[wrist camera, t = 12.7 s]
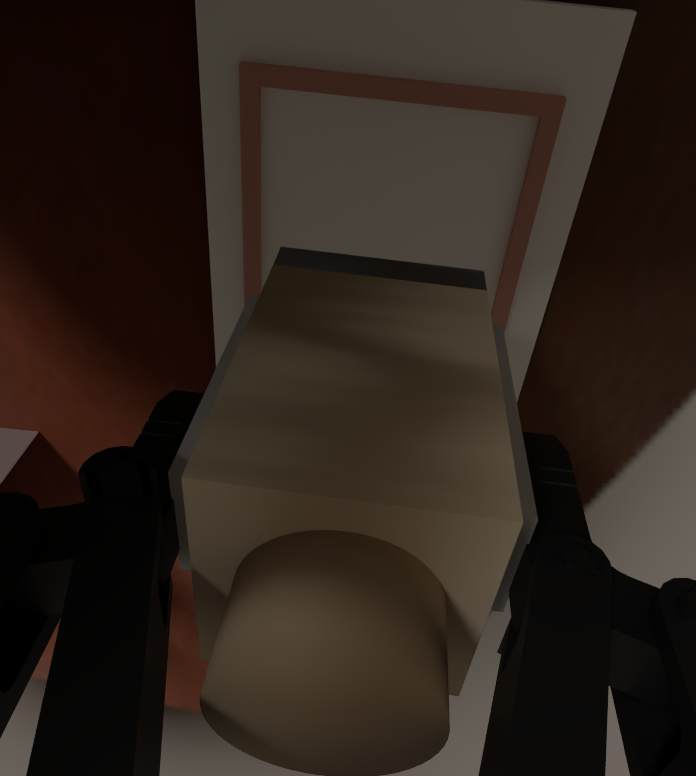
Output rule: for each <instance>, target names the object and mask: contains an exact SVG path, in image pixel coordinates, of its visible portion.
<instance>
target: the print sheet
mask: <svg viewBox="0 0 696 776" xmlns="http://www.w3.org/2000/svg"><path fill="white" fill-rule="evenodd" d="M195 9H196V27H197V44H198V61H199V79H200V96H201V114H202V131H203V148H204V166H205V183H206V201H207V218H208V235H209V253H210V270H211V288H212V305H213V322H214V340H215V357H216V367H217V365H218V363H219V361H220V359H221V356H222V354H223V352H224V350H225V348H226V346H227V343H228V341H229V339H230V337H231V335H232V333H233V330H234V328H235V326H236V324H237V322H238V320H239V317H240V315H241V313H242V311H243V309H244V307H245V304H246V302H247V300H248V298H249V296H250V295H253V296H260V294H261V292H262V289H263V287H264V285H265V282H266V280H267V278H268V275H269V273H270V271H271V268H272V266H273V264H274V261H275V259H276V257H277V254H278V252H279V250H280V247H289V248H297V249H306V250H314V251H322V252H331V253H339V254H348V255H356V256H364V257H373V258H381V259H389V260H398V261H406V262H414V263H423V264H431V265H440V266H448V267H456V268H465V269H473V270H481V271H484V274H485V281H486V287H487V293H488V300H489V306H490V313H491V319H492V324H497V325H503V330H504V336H505V341H506V347H507V352H508V358H509V363H510V369H511V374H512V380H513V385H514V391H515V396H516V402H517V401H518V398H519V394H520V391H521V388H522V385H523V381H524V378H525V375H526V372H527V368H528V365H529V362H530V359H531V355H532V352H533V349H534V346H535V342H536V339H537V336H538V333H539V329H540V326H541V323H542V320H543V316H544V313H545V310H546V306H547V303H548V300H549V297H550V293H551V290H552V287H553V284H554V280H555V277H556V274H557V271H558V267H559V264H560V261H561V258H562V254H563V251H564V248H565V245H566V241H567V238H568V235H569V232H570V228H571V225H572V222H573V218H574V215H575V212H576V209H577V205H578V202H579V199H580V196H581V192H582V189H583V186H584V183H585V179H586V176H587V173H588V170H589V166H590V163H591V160H592V157H593V153H594V150H595V147H596V144H597V140H598V137H599V134H600V130H601V127H602V124H603V121H604V117H605V114H606V111H607V108H608V104H609V101H610V98H611V95H612V91H613V88H614V85H615V82H616V78H617V75H618V72H619V69H620V65H621V62H622V59H623V55H624V52H625V49H626V46H627V42H628V39H629V36H630V33H631V29H632V26H633V23H634V20H635V16H636V13H637V12H636V11H634V10H632V9H623V8H613V7H603V6H594V5H584V4H574V3H564V2H555V1H545V0H195Z"/></svg>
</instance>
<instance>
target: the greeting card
mask: <svg viewBox="0 0 696 776" xmlns="http://www.w3.org/2000/svg"><path fill="white" fill-rule="evenodd" d="M38 433H39V432H37V431H27V430H17V429H7V428H0V484H1V483H2V482H3V480H4V479H5V478H6V476H7V475H8V473H9V472H10V471H11V469H12V468H13V467H14V465H15V464H16V463H17V461H18V460H19V459H20V457H21V456H22V454H23V453H24V452H25V450H26V449H27V448H28V446H29V445H30V444H31V442H32V441H33V439H34V438H35V437H36V435H37V434H38Z"/></svg>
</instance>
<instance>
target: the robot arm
mask: <svg viewBox="0 0 696 776" xmlns="http://www.w3.org/2000/svg"><path fill="white" fill-rule="evenodd" d="M258 298H259V296H253V295H250V296H249V298H248V300H247V302H246V304H245V307H244V309H243V311H242V313H241V315H240V317H239V320H238V322H237V324H236V326H235V328H234V330H233V333H232V335H231V337H230V339H229V341H228V343H227V346H226V348H225V350H224V352H223V354H222V356H221V359H220V361H219V363H218V365H217V367H216V369H215V372H214V374H213V376H212V378H211V380H210V383H209V385H208V387H207V389H206V391H205V393H204V394H203V393H195V392H187V391H179V390H173V391H172V392H170V393H169V394H168V395H166V396H165V397H164V398H163V399H161V400H160V401H159V402H157V404H156V406H155V408H154V409H153V411H152V413H151V415H150V417H149V420H148V421H147V422H146V424H145V426H144V428H143V429H142V433H141V434H140V435H139V437H138V439H137V440H136V442H135V444H134V446H133V447H127V446H119V447H113V448H107V449H105V450H103V451H100V452H98V453H96V454H94V455H92V456H91V457H90V458H89V459H88V460H86V461H85V462H84V463H83V465H82V467H81V468H80V470H79V472H78V476H79V480H80V484H81V488H82V492H83V496H84V500H85V502H83V503H79V504H74V505H69V506H61V507H53V508H45V509H39V506H38V503H37V502H36V501H35V500H34V499H33V498H31V497H30V496H28V495H25V494H21V493H18V492H15V493H0V738H1V736H2V734H3V731H4V730H5V728H6V726H7V723H8V722H9V720H10V718H11V716H12V713H13V712H14V710H15V708H16V706H17V704H18V702H19V700H20V698H21V696H22V694H23V692H24V690H25V687H26V686H27V684H28V682H29V680H30V678H31V676H32V674H33V672H34V670H35V668H36V666H37V664H38V662H39V660H40V658H41V656H42V654H43V652H44V650H45V648H46V646H47V644H48V642H49V640H50V638H51V636H52V634H53V632H54V630H55V628H56V626H57V624H58V622H59V620H60V618H61V620H60V625H59V629H58V634H57V638H56V643H55V647H54V652H53V657H52V661H51V666H50V670H49V675H48V679H47V684H46V688H45V693H44V697H43V702H42V706H41V712H40V716H39V720H38V725H37V729H36V734H35V738H34V743H33V747H32V752H31V756H30V761H29V766H28V770H27V775H26V776H159V771H160V758H161V742H162V728H163V714H164V700H165V686H166V672H167V657H168V643H169V629H170V614H171V600H172V580H171V570H172V568H173V565H174V563H175V560H176V558H177V555H178V556H179V564H180V569H184V570H191V563H190V553H189V544H188V535H187V526H186V516H185V507H184V498H183V489H182V479H181V477H182V475H183V473H184V470H185V468H186V466H187V463H188V461H189V459H190V456H191V454H192V452H193V449H194V447H195V445H196V442H197V440H198V438H199V435H200V433H201V431H202V428H203V426H204V424H205V421H206V419H207V417H208V415H209V412H210V410H211V408H212V405H213V403H214V401H215V398H216V396H217V394H218V391H219V389H220V387H221V384H222V382H223V380H224V377H225V375H226V373H227V370H228V368H229V366H230V363H231V361H232V359H233V356H234V354H235V352H236V350H237V347H238V345H239V343H240V340H241V338H242V336H243V333H244V331H245V329H246V326H247V324H248V322H249V319H250V317H251V315H252V312H253V310H254V308H255V305H256V303H257V301H258ZM492 325H493V332H494V338H495V344H496V351H497V357H498V364H499V370H500V376H501V383H502V389H503V396H504V402H505V408H506V415H507V421H508V428H509V434H510V440H511V447H512V453H513V459H514V466H515V472H516V479H517V485H518V491H519V498H520V504H521V511H522V517H523V524H522V527H521V530H520V533H519V535H518V538H517V541H516V543H515V546H514V549H513V551H512V554H511V557H510V559H509V562H508V565H507V567H506V570H505V573H504V575H503V578H502V581H501V583H500V586H499V589H498V592H497V594H496V597H495V600H494V602H493V605H492V608H491V610H493V611H501V612H503V610H504V608H505V605H506V602H507V600H508V597H509V599H510V608H511V616H512V617H511V619H510V622H509V624H508V627H507V629H506V632H505V634H504V637H503V639H502V642H501V644H500V647H499V649H498V653H499V654H501V659H500V664H499V670H498V675H497V681H496V686H495V691H494V696H493V702H492V707H491V713H490V718H489V723H488V728H487V734H486V739H485V745H484V750H483V756H482V761H481V766H480V772H479V776H605V766H606V764H605V763H606V739H607V711H608V686H610V687H611V691H612V696H613V700H614V705H615V709H616V714H617V718H618V723H619V727H620V732H621V736H622V740H623V745H624V750H625V754H626V758H627V763H628V768H629V772H630V776H696V580H692V579H689V578H673V579H671V580H669V581H667V582H665V583H664V584H663V585H662V587H661V589H659V588H657V587H654V586H652V585H649V584H647V583H644V582H642V581H639V580H636V579H634V578H631V577H629V576H627V575H625V574H623V573H621V572H619V571H617V570H616V569H615V568H613V567H612V566H611V564H610V561H609V560H608V558H607V557H606V555H605V554H604V552H603V551H602V550H601V549H600V548H598V547H597V546H596V545H595V544H593V543H592V541H591V538H590V534H589V530H588V526H587V523H586V519H585V515H584V511H583V507H582V503H581V499H580V496H579V492H578V488H576V485H577V484H576V480H575V476H574V474H573V473H572V472H573V469H572V465H571V461H570V457H569V454H568V452H567V450H566V449H565V448H564V447H563V445H562V444H561V443H560V442H559V440H558V439H557V438H556V436H553V435H545V434H537V433H529V432H522V429H521V424H520V418H519V413H518V407H517V402H516V396H515V391H514V385H513V380H512V374H511V369H510V363H509V358H508V352H507V347H506V341H505V336H504V330H503V325H497V324H492Z"/></svg>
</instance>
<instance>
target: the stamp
mask: <svg viewBox="0 0 696 776" xmlns="http://www.w3.org/2000/svg"><path fill="white" fill-rule="evenodd" d="M181 479H182V489H183V498H184V507H185V516H186V526H187V535H188V544H189V553H190V563H191V572H192V581H193V591H194V600H195V609H196V618H197V628H198V637H199V646H200V656H201V660H203V661H210V663H209V666H208V670H207V673H206V677H205V680H204V684H203V687H202V691H201V694H200V707H201V711H202V714H203V716H204V718H205V719H206V721H207V722H208V724H209V725H210V727H211V728H212V729H213V730H214V731H215V732H216V733H217V734H218V735H219V736H221V737H222V738H223V739H224V740H225V741H227V742H228V743H230V744H231V745H233V746H234V747H236V748H237V749H239V750H241V751H243V752H245V753H247V754H249V755H251V756H253V757H255V758H258V759H260V760H262V761H265V762H268V763H270V764H273V765H277V766H280V767H283V768H287V769H290V770H295V771H299V772H304V773H310V774H316V775H324V776H380V775H387V774H392V773H396V772H401V771H404V770H407V769H411V768H413V767H415V766H418V765H420V764H423V763H424V762H426V761H428V760H430V759H431V758H432V757H434V756H435V755H436V754H437V753H439V751H440V750H441V749H442V748H443V747H444V745H445V743H446V741H447V740H448V736H449V732H450V725H449V695H455V696H459V693H460V691H461V688H462V685H463V683H464V680H465V677H466V674H467V672H468V669H469V667H470V664H471V661H472V659H473V656H474V653H475V650H476V648H477V645H478V642H479V640H480V637H481V634H482V631H483V629H484V626H485V623H486V621H487V618H488V616H489V613H490V610H491V608H492V605H493V602H494V600H495V597H496V594H497V592H498V589H499V586H500V583H501V581H502V578H503V575H504V573H505V570H506V567H507V565H508V562H509V559H510V557H511V554H512V551H513V549H514V546H515V543H516V541H517V538H518V535H519V533H520V530H521V527H522V524H523V517H522V511H521V504H520V498H519V491H518V485H517V479H516V472H515V466H514V459H513V453H512V447H511V440H510V434H509V428H508V421H507V415H506V408H505V402H504V396H503V389H502V383H501V376H500V370H499V364H498V357H497V351H496V344H495V338H494V332H493V325H492V319H491V313H490V306H489V300H488V293H487V287H486V281H485V274H484V271H481V270H473V269H465V268H456V267H448V266H440V265H431V264H423V263H414V262H406V261H398V260H389V259H381V258H373V257H364V256H356V255H348V254H339V253H331V252H322V251H314V250H306V249H297V248H289V247H280V250H279V252H278V254H277V257H276V259H275V261H274V264H273V266H272V268H271V271H270V273H269V275H268V278H267V280H266V282H265V285H264V287H263V289H262V292H261V294H260V296H259V298H258V301H257V303H256V305H255V308H254V310H253V312H252V315H251V317H250V319H249V322H248V324H247V326H246V329H245V331H244V333H243V336H242V338H241V340H240V343H239V345H238V347H237V350H236V352H235V354H234V356H233V359H232V361H231V363H230V366H229V368H228V370H227V373H226V375H225V377H224V380H223V382H222V384H221V387H220V389H219V391H218V394H217V396H216V398H215V401H214V403H213V405H212V408H211V410H210V412H209V415H208V417H207V419H206V421H205V424H204V426H203V428H202V431H201V433H200V435H199V438H198V440H197V442H196V445H195V447H194V449H193V452H192V454H191V456H190V459H189V461H188V463H187V466H186V468H185V470H184V473H183V475H182V477H181Z"/></svg>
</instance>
